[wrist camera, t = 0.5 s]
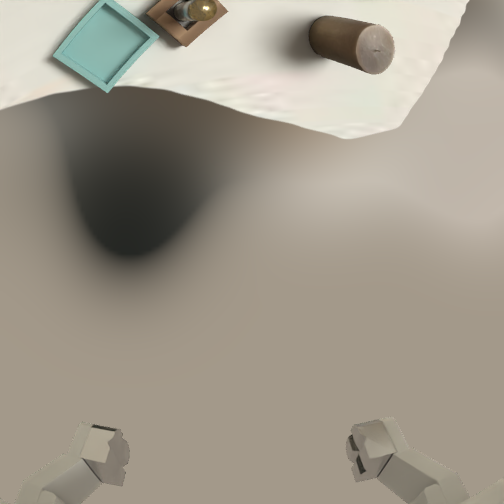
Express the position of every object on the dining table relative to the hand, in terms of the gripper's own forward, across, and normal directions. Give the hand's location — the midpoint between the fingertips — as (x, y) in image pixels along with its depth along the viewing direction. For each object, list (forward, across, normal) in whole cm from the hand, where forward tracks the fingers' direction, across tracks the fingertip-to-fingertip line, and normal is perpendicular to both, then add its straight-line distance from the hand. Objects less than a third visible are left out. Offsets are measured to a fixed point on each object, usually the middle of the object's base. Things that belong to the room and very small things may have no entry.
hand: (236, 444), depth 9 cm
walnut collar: (+41, +8, -33) cm, 53 cm away
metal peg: (+41, +8, -33) cm, 53 cm away
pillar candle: (+52, -18, -33) cm, 65 cm away
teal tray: (+39, +20, -28) cm, 52 cm away
